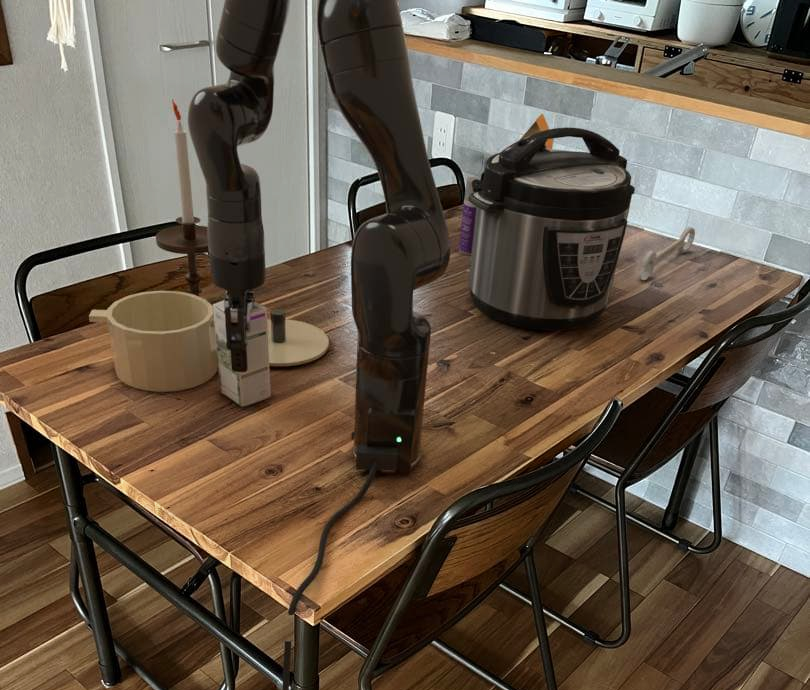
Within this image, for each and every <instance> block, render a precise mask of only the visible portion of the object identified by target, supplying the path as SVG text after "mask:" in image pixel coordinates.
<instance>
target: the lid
mask: <svg viewBox="0 0 810 690" xmlns="http://www.w3.org/2000/svg"><path fill="white" fill-rule="evenodd" d="M267 326H268V349H269V367H291V366H292V367H293V366H299V365H304V364H308V363H311V362H313V361H316V360H318V359H320V358H321V357H322V356H324V355H325V354H326V352H327V351H328V350H329V346H330V340H329V336H328V335H327V333H326V332H324V331H323V330H322V329H320V328H319V327H317V326H315V325H313V324H310V323H307V322H304V321H300V320H295V319H286V310H284V309H281V308H273V309H271V310H270V318H269V319H268V318H267Z"/></svg>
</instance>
